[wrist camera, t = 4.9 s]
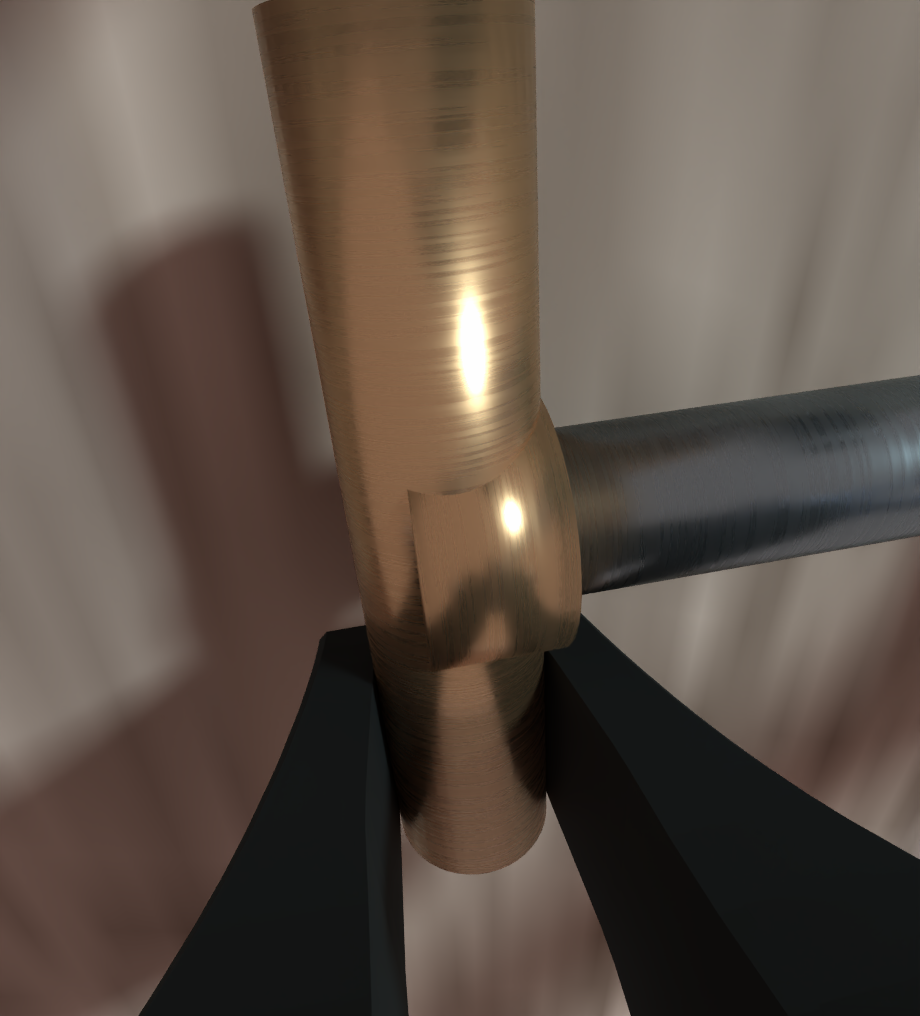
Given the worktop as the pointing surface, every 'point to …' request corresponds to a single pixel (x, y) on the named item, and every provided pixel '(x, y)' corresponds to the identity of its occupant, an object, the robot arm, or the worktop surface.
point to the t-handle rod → (507, 409)
